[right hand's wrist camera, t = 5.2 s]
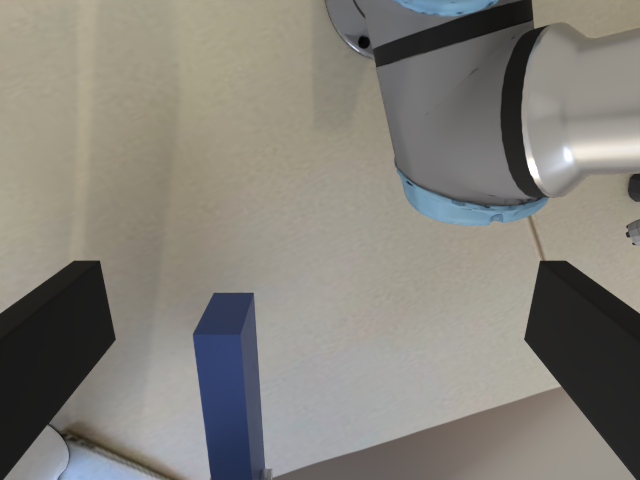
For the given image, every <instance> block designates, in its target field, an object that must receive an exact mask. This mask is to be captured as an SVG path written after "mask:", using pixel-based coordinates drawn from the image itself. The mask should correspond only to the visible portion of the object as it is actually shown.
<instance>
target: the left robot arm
mask: <svg viewBox="0 0 640 480" xmlns="http://www.w3.org/2000/svg"><path fill="white" fill-rule="evenodd" d="M68 461H69V452H68V448H67V445H66V443H65V442H64V440H63V438H62V437H61V436H60V435H59V434H58V433H57V432H56V431H55V430H54V429H53V428H52V427H50V426H49V425H47V426H46V427H45V429H44V430H43V431H42V432H41V434H40V435H39V436H38V437H37V439H36V440H35V441H34V442H33V444H32V445H31V446H30V447H29V449H28V450H27V451H26V452H25V454H24V455H23V456H22V457H21V459H20V460H19V461H18V462H17V464H16V465H15V466H14V467H13V469H12V470H11V471H10V472H9V474H8V475H7V476H6V477H5V479H4V480H58V477H59V475H60V474H61V473H62V472H63V471H64V470H65V468H66V467H67V464H68ZM210 480H211V478H210ZM259 480H272V469H260V475H259Z"/></svg>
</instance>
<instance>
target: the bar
mask: <svg viewBox="0 0 640 480" xmlns="http://www.w3.org/2000/svg"><path fill="white" fill-rule="evenodd" d="M193 340H194V348H195V356H196V363H197V371H198V379H199V387H200V395H201V403H202V411H203V419H204V427H205V434H206V442H207V450H208V458H209V466H210V474H211V480H259V475H260V469H265V461H264V445H263V430H262V414H261V399H260V383H259V368H258V352H257V336H256V321H255V305H254V293H214V294H213V296H212V298H211V300H210V302H209V304H208V306H207V308H206V310H205V312H204V314H203V316H202V318H201V319H200V321H199V323H198V325H197V327H196V329H195V331H194V333H193Z"/></svg>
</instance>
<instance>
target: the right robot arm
mask: <svg viewBox="0 0 640 480" xmlns="http://www.w3.org/2000/svg"><path fill="white" fill-rule="evenodd" d="M325 3H326V7H327V11H328V14H329V17H330V20H331V22H332V24H333V26H334V28H335V30H336V31H337V33H338V34H339V36H340V37H341V38H342V39H343V41H344V42H345V43H346V44H347V45H348V46H349V47H351V48H352V49H353V50H354V51H356V52H357V53H359V54H361V55H362V56H365V57H367V58H369V59H372V60H375V63H376V67H377V68H376V70H377V75H378V80H379V84H380V89H381V94H382V98H383V103H384V107H385V112H386V117H387V121H388V126H389V131H390V135H391V140H392V145H393V149H394V154H395V158H394V162H395V167H396V168H397V172H398V174H399V175H400V177H401V180H402V184H403V188H404V192H405V195H406V197H407V199H408V201H409V203H410V204H411V205H412V206H413V207H414V208H415V209H416V210H417V211H419V212H420V213H422V214H423V215H425V216H427V217H430V218H432V219H435V220H438V221H442V222H446V223H452V224H460V225H489V224H490V222H492V221H500V222H503V223H506V222H511V221H515V220H519V219H522V218H525V217H527V216H530V215H532V214H534V213H536V212H537V211H538V210H539V209H541V208H542V207H543V206H544V205H545V204H546V202H547V201H548V198H549V197H552V198H555V197H562V196H565V195H567V194H568V193H569V192H571V191H572V190H573V189H574V188H575V187H576V186H577V185H578V184H580V183H581V182H582V181H583V180H584V179H585V178H586V177H588V176H590V175H605V174H637V173H640V28H637V29H633V30H629V31H625V32H621V33H616V34H612V35H608V36H604V37H600V38H596V39H592V38H589V37H586V36H585V35H583V34H582V33H581V32H579V31H578V30H576V29H575V28H573V27H572V26H570V25H569V24H567V23H562V22H560V23H553V24H551V25H547V26H544V27H540V28H537V29H534V22H533V10H532V0H325ZM518 24H519V25H518ZM508 27H509V28H508ZM475 37H476V38H475ZM455 43H456V44H455ZM452 44H453V45H452ZM448 45H449V46H448ZM445 46H446V47H445ZM442 47H443V48H442ZM438 48H440V49H438ZM435 49H436V50H435ZM432 50H433V51H432ZM428 51H430V52H428ZM393 62H394V63H393ZM386 64H387V65H386ZM382 65H384V66H382ZM379 66H381V67H379ZM115 340H116V338H115V333H114V328H113V323H112V319H111V314H110V309H109V304H108V299H107V294H106V289H105V284H104V279H103V274H102V269H101V264H100V261H73V262H72V263H70V264H69V265H67V266H66V267H65V268H63V269H62V270H60V271H59V272H58V273H56V274H55V275H54V276H52V277H51V278H49V279H48V280H47V281H45V282H44V283H42V284H41V285H40V286H38V287H37V288H35V289H34V290H33V291H31V292H30V293H28V294H27V295H26V296H24V297H23V298H21V299H20V300H19V301H17V302H16V303H14V304H13V305H12V306H10V307H9V308H8V309H6V310H5V311H3V312H2V313H1V314H0V480H4V479H5V477H6V476H7V475H8V474H9V472H10V471H11V470H12V469H13V467H14V466H15V465H16V464H17V462H18V461H19V460H20V459H21V457H22V456H23V455H24V454H25V452H26V451H27V450H28V449H29V447H30V446H31V445H32V444H33V442H34V441H35V440H36V439H37V437H38V436H39V435H40V434H41V432H42V431H43V430H44V429H45V427H46V426H47V425H48V424H49V422H50V421H51V420H52V419H53V417H54V416H55V415H56V414H57V412H58V411H59V410H60V409H61V407H62V406H63V405H64V404H65V402H66V401H67V400H68V399H69V397H70V396H71V395H72V394H73V392H74V391H75V390H76V389H77V387H78V386H79V385H80V384H81V382H82V381H83V380H84V379H85V377H86V376H87V375H88V374H89V372H90V371H91V370H92V369H93V367H94V366H95V365H96V364H97V362H98V361H99V360H100V359H101V357H102V356H103V355H104V354H105V352H106V351H107V350H108V349H109V347H110V346H111V345H112V344H113V342H114V341H115ZM524 340H525V341H526V342H527V344H528V345H529V346H530V347H531V349H532V350H533V351H534V352H535V354H536V355H537V356H538V357H539V359H540V360H541V361H542V362H543V364H544V365H545V366H546V367H547V369H548V370H549V371H550V372H551V374H552V375H553V376H554V377H555V379H556V380H557V381H558V382H559V384H560V385H561V386H562V387H563V389H564V390H565V391H566V392H567V394H568V395H569V396H570V397H571V399H572V400H573V401H574V402H575V404H576V405H577V406H578V407H579V409H580V410H581V411H582V412H583V414H584V415H585V416H586V417H587V419H588V420H589V421H590V422H591V424H592V425H593V426H594V427H595V429H596V430H597V431H598V432H599V434H600V435H601V436H602V437H603V439H604V440H605V441H606V442H607V444H608V445H609V446H610V447H611V449H612V450H613V451H614V452H615V454H616V455H617V456H618V457H619V459H620V460H621V461H622V462H623V464H624V465H625V466H626V467H627V469H628V470H629V471H630V472H631V474H632V475H633V476H634V477H635V478H636V480H640V314H639V313H638V312H637V311H635V310H634V309H632V308H631V307H630V306H628V305H627V304H626V303H624V302H623V301H621V300H620V299H619V298H617V297H616V296H614V295H613V294H612V293H610V292H609V291H607V290H606V289H605V288H603V287H602V286H600V285H599V284H598V283H596V282H595V281H593V280H592V279H591V278H589V277H588V276H586V275H585V274H584V273H582V272H581V271H580V270H578V269H577V268H575V267H574V266H573V265H571V264H570V263H568V262H567V261H540V264H539V269H538V274H537V279H536V284H535V289H534V294H533V299H532V304H531V309H530V314H529V319H528V323H527V328H526V333H525V338H524Z"/></svg>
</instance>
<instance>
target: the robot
mask: <svg viewBox="0 0 640 480" xmlns="http://www.w3.org/2000/svg"><path fill="white" fill-rule="evenodd" d="M628 192H629V196H630V197H631V198H632V199H633V200H634V201H636V202H640V173H637V174H635V175H633V176H632V177H631V178H630V184H629V189H628ZM626 227H627V228H628V232H627V233H626V236H627V237H631V239H632V241H633V242H634V243H632V244H633V245H640V219H639V220H636V221H634V222H632V223H630V224H629V225H627V226H626Z"/></svg>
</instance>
